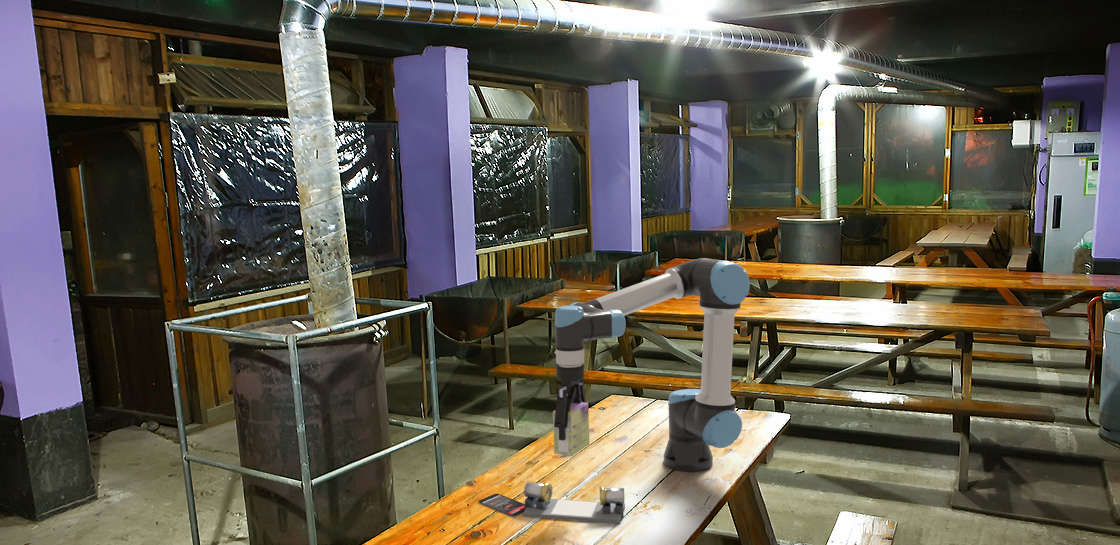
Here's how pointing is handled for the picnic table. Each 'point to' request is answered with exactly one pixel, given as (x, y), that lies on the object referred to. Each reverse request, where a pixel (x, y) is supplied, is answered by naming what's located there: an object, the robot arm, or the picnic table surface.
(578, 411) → the box
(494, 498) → the smartphone
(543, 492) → the shaft
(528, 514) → the bed
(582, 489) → the picnic table surface
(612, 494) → the shaft
